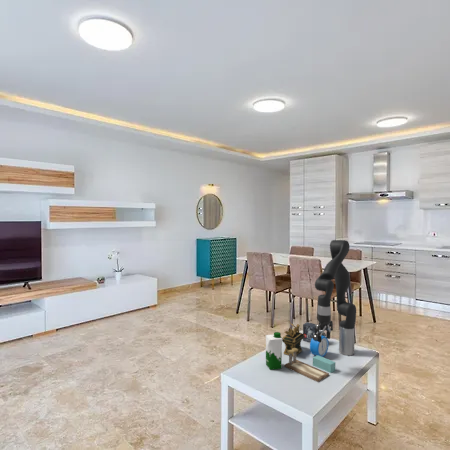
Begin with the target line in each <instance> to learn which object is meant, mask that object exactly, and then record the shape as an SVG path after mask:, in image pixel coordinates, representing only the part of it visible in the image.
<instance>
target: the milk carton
mask: <svg viewBox="0 0 450 450" xmlns="http://www.w3.org/2000/svg"><path fill="white" fill-rule="evenodd" d="M281 334H282V333H281V332H279V331H274V332H273V334H265V364H266V367H267V368H268V369H269V370H270V371H273V370H281V369H282V358H283V356H282V355H283V352H282V348H283V345H282V344H283V341H282V338H283V337H282V335H281Z"/></svg>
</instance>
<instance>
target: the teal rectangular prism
mask: <svg viewBox="0 0 450 450" xmlns="http://www.w3.org/2000/svg"><path fill="white" fill-rule="evenodd" d="M312 366H313V367H315V368H317V369H320V370H322V371H324V372H327V373H329V374H331V373H333V372H335V371H336V361H333V360H330V359H328V358H325V356H324V357H321V356H318V355H317V356H316V355H314V356H313V357H312Z"/></svg>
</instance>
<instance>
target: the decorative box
mask: <svg viewBox="0 0 450 450" xmlns="http://www.w3.org/2000/svg"><path fill="white" fill-rule="evenodd" d="M289 324H290V325H291V326H293V327H294V328H292V327H291V326H290V327H289V328H288V329H287V330H286V331H284V333H285V335H284V336H283V337H281V338H282V343H283V344H284V346H285V348H284V350H283V354H284V355H287V356H289V353H288V350H292V348H297V349H298V352H296V356H297V355H299V354H301V352H302V351H303V349H302V346H301V343H302V341H303V338H304V337H305V335H304V334H303V332H300V324H298V323H296V325H294V324H293V323H291V322H289ZM292 357H293V354H292Z"/></svg>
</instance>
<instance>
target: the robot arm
mask: <svg viewBox="0 0 450 450" xmlns="http://www.w3.org/2000/svg"><path fill="white" fill-rule="evenodd" d="M329 251H330V252H329V253H330V256H331V260H330V261H328V262H327V263H326V266H324V269H323V272H322V273H321V274H320V275H319V276H318V277H317V278H316V280H315V282H314V287H315V290H317V291H319V292H324V294H319V295H318V296H317V297H318V298H317V312H316V313H317V316H316V317H317V322H318V324H317V325H315V335H317V341H318V342H321V338H322V336H321V335H322V333H323V332H324V333H325V334H326V336H325V337H326V338H327V339H328V340H330V339H331V332H332V331H334V326H333V325H334V324H333V323H334V322H333V320H332V317H331V316H332V307H331V299H332V294H333V291H334V289H335V293H336V311H337V313H338V315H340V316H343V317H345V319H344V320H340V321H339V331H338V332H339V334H338V335H339V337H338V339H339V340H338V352H339V353H340V354H341V355H343V356H354V355H355V326H356V321H357V306H356V305H355V304H354V303H351V302H349V301H346V293H347V291H348V289H349V287H350V285H351V279H350V272H349V271H348V269H347V268H346V267H345V265H344V264H343V261H344V260H345V258H346V257H347V255H348V254H349V251H350V243H349V241H348V240H346V239H345V240H344V239H332V240H331V241H330V244H329ZM333 280H334V282H333ZM334 283H335V284H334ZM334 287H335V288H334ZM320 329H321V330H322V331H321V330H320Z"/></svg>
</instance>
